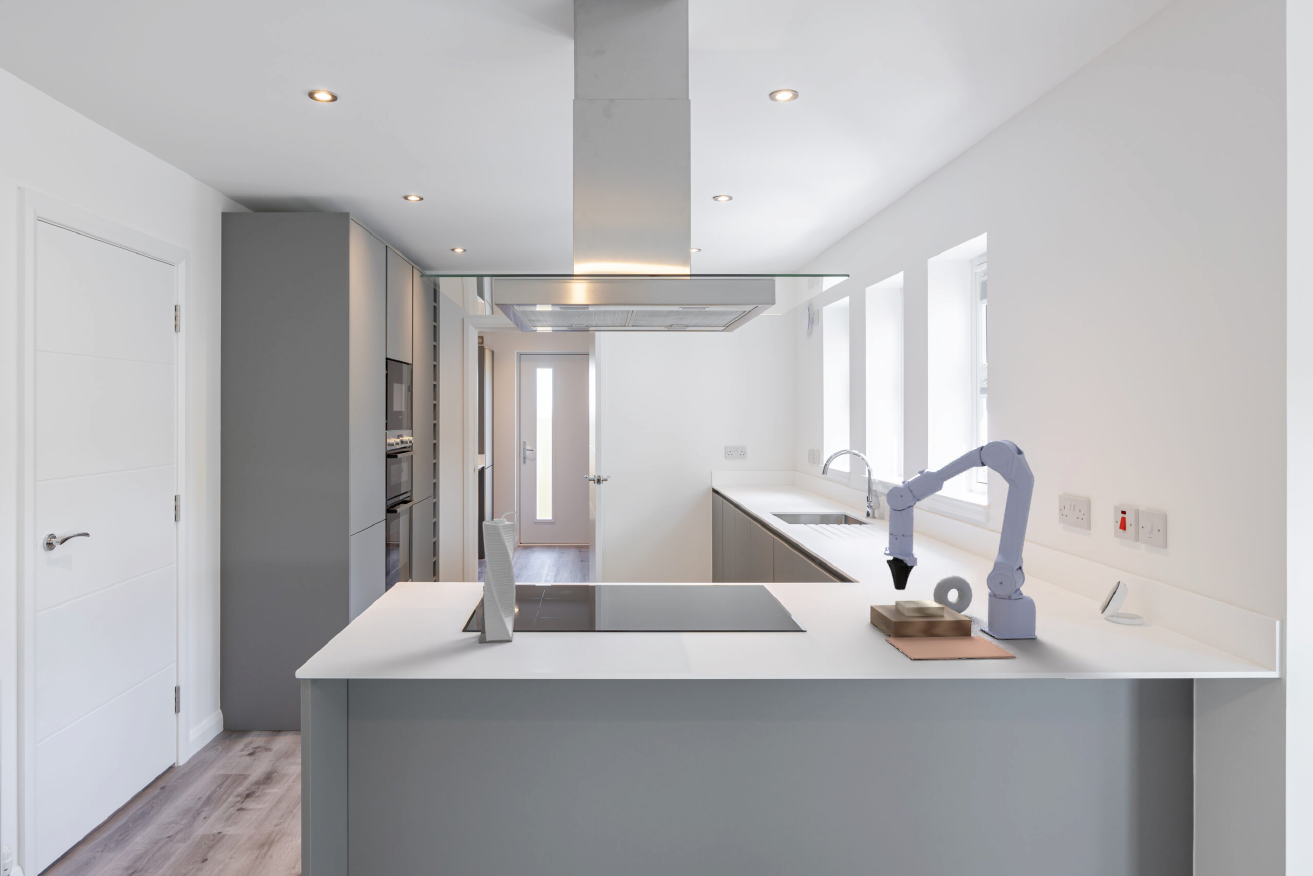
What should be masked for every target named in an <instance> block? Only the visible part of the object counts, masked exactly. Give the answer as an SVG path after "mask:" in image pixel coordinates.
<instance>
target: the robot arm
mask: <svg viewBox="0 0 1313 876" xmlns="http://www.w3.org/2000/svg"><path fill="white" fill-rule="evenodd" d="M982 467H988V468H989V469H991V470H992V471H994V472H997V473H998V474H999V475H1000V476H1001V477H1002V478H1003V480H1004V481H1005V482H1006V483H1007V484H1008V491H1007V497H1006V502H1005V509H1004V514H1003V520H1002V521H1003V522H1002V527H1001V532H1000V539H999V545H998V550H997V554H996V557H995V559H994V562H993V567H992V569H991V571H990V572H989V573H988V575H987V577H986V587H987V588H988V593H987V594H988V599H987V600H988V602H987V603H988V604H987V605H988V607H987V626H980V627H979V630H981V631H982V630H983V632H984V631H985V633H986V634H988V635H990V636H991V635H992V637H993V636H994V638H995V639H999V640H1006V639H1007V640H1009V639H1018V640H1019V639H1038V635H1036V630H1037V626H1036V625H1037V624H1036V623H1037V617H1036V616H1037V607H1036V604H1035V602H1034V601H1035V600H1033V598H1032V597H1031V596H1030V595H1028V594H1025V595H1024V593H1023V591H1022V590H1021V588H1022V586H1023V585H1024V584H1025V581H1026V576H1025V572H1024V568H1023V565H1024V559H1023V550H1024V544H1025V541H1026V540H1025V539H1026V533H1027V527H1028V521H1029V517H1030V516H1029V515H1030V509H1031V503H1032V497H1033V492H1034V490H1033V489H1034V485H1035V475H1034V474H1033V471H1032V469H1031V467H1030V465H1029V464H1028V461H1027V459H1026V456H1025V452H1024V450H1022V449H1021V448H1020V447H1019V446H1018V445H1017V444H1015V442H1013V441H1011V440H1007V439H1001V440H994V441H993V440H991V441H989V442H987V443H986V444H984V445H980V446H977V447H974V448H973V449H971V450H969V451H967V452H965V453H963V454H962V455H961V456H959V457H958V458H957V457H956V459H954V460H952V461H950V462H949V463H947V464H946V465H944V466H942V467H941V468H939V469H937V470H935V469H931V468H927V469H926V470H925V469H921V470H919V471H918V474H917V475H915V476H914V477H912V478H910V479H908V480H907V479H904V480H903V481H901V483H902V485H894V486H892V488H891V489H889V490H888V492H887V493H886V495H885V496H886V502H887V504H888V506H889V516H888V546H885V548H884V549H885V551H883V555H884V556H889V557H892V558H891V559H886V564H887V565H888V568H889V570H890V574H891V576H892V577H891V578H892V581H893V586H894V589H895V590H897V591H905V590H906V588H907V584H908V581H909V577H910V575H911V572H912V571H913V569H914V567H917V566H918V558H917V557H916V555H915V554H914V522H915V521H914V507H915V506H916V504H917V503H919V502H922V501H924V500H925V499H927V498H929V497H931V496H932V495H934V494H936V493H939V492H940V491H942V490H943V488H944V487H943V486H944V484H945V482H946V481H949V480H951V479H953V478H954V477H957V476H959V475H960V474H963V473H965V472H966V471H969V470H971V469H972V468H982Z"/></svg>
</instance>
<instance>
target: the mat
mask: <svg viewBox="0 0 1313 876" xmlns="http://www.w3.org/2000/svg"><path fill="white" fill-rule="evenodd" d="M884 640H885V641H886V640H887V641H886V642H888V643H889V642H890V643H891V644H892V646H893V645H894V646H895V647H896V648H895V647H894V646H893V647H894V648H895V649H897V648H898V649H899V650H901V651H902V652H903V653H905V654H906V655H907V656H909V658H908V659H910V658H911V659H912V660H911V659H910V660H911V661H914V660H913V659H939V660H959V659H958V658H986V659H1015V658H1016V655H1015V654H1012V653H1011V652H1010V651H1007V650H1006V649H1004V648H1002V647H1000V646H999V645H997V644H995V643H993V642H992V641H991V640H988V639H987V638H985V637H984V636H981V635H976V636H975V635H971V636H958V637H904V638H891V637H884ZM890 643H889V644H890ZM891 644H890V645H891ZM898 649H897V650H898ZM899 650H898V651H899ZM901 651H900V652H901ZM902 652H901V653H902ZM903 653H902V654H903ZM906 655H905V656H906ZM907 656H906V657H907ZM947 658H948V659H947Z"/></svg>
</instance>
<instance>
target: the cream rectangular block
mask: <svg viewBox="0 0 1313 876" xmlns="http://www.w3.org/2000/svg"><path fill="white" fill-rule="evenodd" d="M894 605H895V609H896V610H897V611H899V612H900V613H902V614H903V615H905V616H943V615H944V606H942V605H940V604H938V603H936V602H934V599H933V600H930V599H929V600H895V603H894Z"/></svg>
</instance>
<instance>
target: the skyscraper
mask: <svg viewBox="0 0 1313 876" xmlns="http://www.w3.org/2000/svg"><path fill="white" fill-rule="evenodd" d="M509 514H510V515H511V514H515V515H516V517H515V518H516V519H515V521H514V522H511V521H507V518H505V517H506V516H507V515H509ZM519 516H520V513H519V512H518V511H513V510H512V511H511V510H510V511H506V512H504V513H503V515H501V518H498V517H497V518H493V519H492V520H484V521H482V533H483V534H482V535H483V547H484V556H485V562H486V564H485V565H486V566H485V572H484V579H483V580H484V584H483V589H482V591H483V593H482V594H483V595H482V597H481V608H482V609H481V617H480V623H481V629H480V634H479V640H478V644H488V643H489V644H490V643H491V644H492V643H493V644H494V643H512V642H513V632H514V625H515V615H516V614H515V611H516V578H515V570H514V565H513V558H514V551H515V546H516V536H517V526H518V525H517V523H518V520H519Z"/></svg>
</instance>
